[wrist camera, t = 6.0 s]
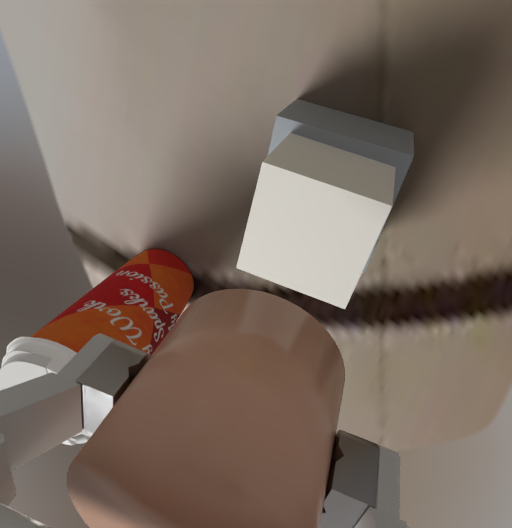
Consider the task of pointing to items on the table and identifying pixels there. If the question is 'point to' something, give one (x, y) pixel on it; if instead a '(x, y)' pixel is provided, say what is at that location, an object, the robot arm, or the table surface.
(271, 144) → the tower base block
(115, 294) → the paper cup
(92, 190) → the table surface
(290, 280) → the tower top block
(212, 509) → the peach rounded cylinder
